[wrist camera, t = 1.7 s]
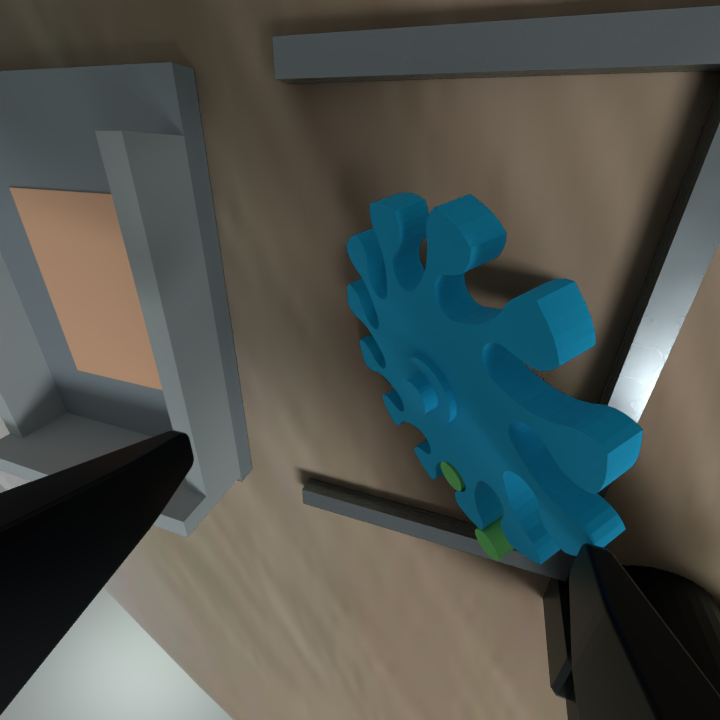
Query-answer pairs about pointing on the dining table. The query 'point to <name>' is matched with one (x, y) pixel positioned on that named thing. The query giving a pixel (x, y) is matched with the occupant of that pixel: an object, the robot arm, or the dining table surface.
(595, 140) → the dining table surface
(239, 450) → the grey open tray
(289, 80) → the frame
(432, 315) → the gear
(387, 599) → the dining table surface
